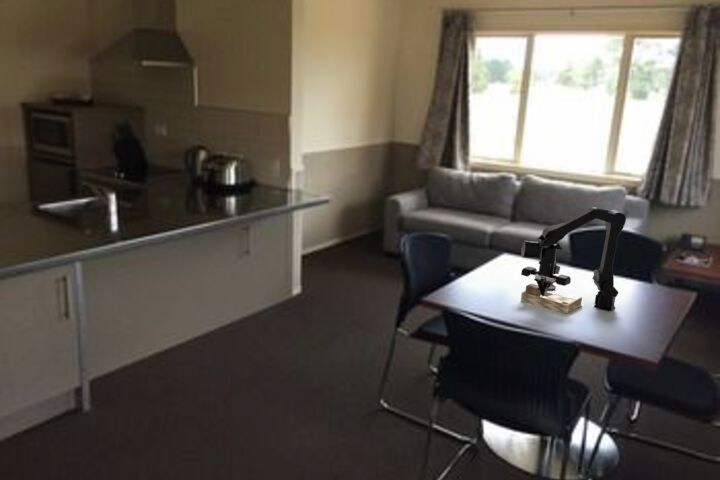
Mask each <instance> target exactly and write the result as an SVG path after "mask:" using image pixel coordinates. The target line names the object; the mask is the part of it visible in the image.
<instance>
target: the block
mask: <svg viewBox="0 0 720 480" xmlns="http://www.w3.org/2000/svg"><path fill="white" fill-rule="evenodd" d="M525 291H526V292H525V293H528V294H531V295H535V296H538V297H540V294H541V292H540V289H539V286H538V284H537V283H529V284H527V285H525Z"/></svg>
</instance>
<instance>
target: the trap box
mask: <svg viewBox="0 0 720 480" xmlns="http://www.w3.org/2000/svg"><path fill="white" fill-rule="evenodd" d="M525 292H526V290H524V291H522V292H521V297H520V301H522V302H525V303H528V304H533V305H535V306H539V307H543V308H545V309H549V310H553V311H556V312H559V313H563V314H569V313H571V312H572V311H574V310H576V309H577V308H579V307H581V306H582V301H583V297H581V296H580V297H578V298H576V299H575V298H573V297H568V296H566V295H565V296H564V295H561V294H557V293H553V292H550V291H547V292H546V294H545V296H542V295H541V294H540V297H538V296H535V295H531V294H528V293H525Z"/></svg>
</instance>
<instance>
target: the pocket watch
mask: <svg viewBox="0 0 720 480" xmlns="http://www.w3.org/2000/svg"><path fill="white" fill-rule="evenodd" d="M548 277H549V276H548ZM556 288H557V286H555V284H554V283H552V284H551V285H550V287H549V288H548V290H549V291H551V290H555V289H556ZM548 290H547V291H548Z"/></svg>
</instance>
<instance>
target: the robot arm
mask: <svg viewBox="0 0 720 480" xmlns="http://www.w3.org/2000/svg"><path fill="white" fill-rule="evenodd" d="M593 220H600V221H603V222H604V226H605V232H606V234H605V239H604V245H603V250H602V256H601V262H600V266H599V268H598V269H594V270H593V276H592V280H593V283H594V285H595V286H596V287H597V294H596V295H595V299H594V306H593V308H597V309H599V310H604V311H607V312H611V311H613V310H614V309H616V306H615V302H616V298H617V296H618V295H619V291H618V290H617V289H616V288H615V286H614V285H615V284H614V279H615V278H614V273H613V267H614V261H615V257H616V256H615V255H616V251H617V246H618V240H619V235H620V234H621V232H623V229H624V227H625V224H626V221H627V217H626V216H625V214H624V213H622V212H620V211H618V210H617V209H611V210H607V209H604V208H599V207H595V206H592V207H589V208H587V210H585V211H583V212H581V213H579V214H577V215H575V216H574V217H571V218H569V219H567V220H565V221H564V222H562V223H557V224H553V225H550V226H548V227H545V228H543V230H542V234H541V235H540V236H539V237H538V238H537V239H535V241H532V240H531V241H530V240H523V244H522V247H521V257H522V258H526V259H527V258H528V259H538V258H540V259H539V261H538V264H539V267H538V270H537V268H536V267H532V266H526V267H523V268H522V269H521V272H520V275H521V276H524V277H530V275H532V276H535V278H533V280H534V281H535V282H536V285H538V286H539V289H540V292H541V295H542V296H545V294H546V292H548V288H549V287H550V285H551V284H552V283H553V284H554V283H556V285H559V286H563V287H564V286H565V287H566V286H567V285H569V284H571V282H572V281H571V280H572V279H571V276H569V275H564V274H560V270H561V266H559V265H558V264H557V261H556V258H557V250H560V251H561V250H563V247H562V246H561V245H560V243H559V242H560V241H561V240H563V239H564V238H565V237H566V236H567V235H568V234H569V233H571V232H573V231H575V230H577V229H578V228H580V227H582V226H585V225H586V224H588V223H590V222H593ZM548 276H549V277H548Z"/></svg>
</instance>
